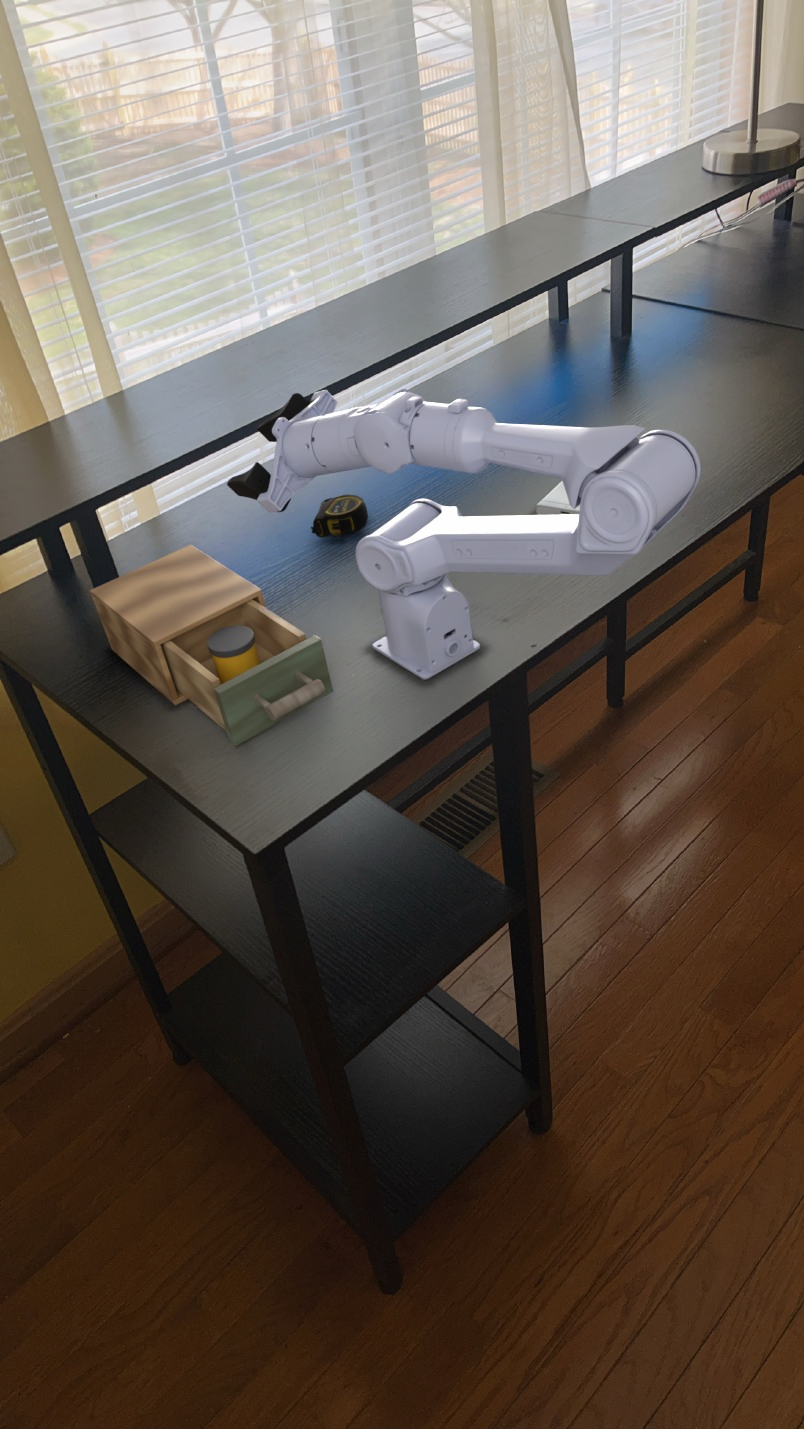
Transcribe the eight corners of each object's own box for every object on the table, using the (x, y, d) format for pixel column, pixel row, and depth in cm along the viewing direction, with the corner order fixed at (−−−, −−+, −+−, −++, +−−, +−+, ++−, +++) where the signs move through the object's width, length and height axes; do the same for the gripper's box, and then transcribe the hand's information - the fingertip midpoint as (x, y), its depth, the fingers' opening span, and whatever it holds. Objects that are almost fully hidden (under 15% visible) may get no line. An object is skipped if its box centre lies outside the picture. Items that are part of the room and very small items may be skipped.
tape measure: (326, 518, 141) (320, 493, 139) (374, 516, 139) (370, 491, 137) (314, 543, 136) (308, 517, 133) (364, 541, 134) (359, 515, 132)
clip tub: (273, 677, 109) (262, 636, 106) (234, 698, 107) (221, 657, 104) (249, 659, 112) (238, 619, 109) (211, 680, 110) (198, 639, 107)
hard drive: (578, 463, 140) (535, 503, 132) (635, 470, 136) (594, 512, 128) (579, 474, 141) (536, 515, 133) (635, 482, 137) (594, 524, 129)
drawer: (356, 707, 104) (345, 654, 100) (257, 765, 99) (241, 711, 95) (257, 638, 118) (244, 588, 114) (165, 685, 112) (147, 635, 108)
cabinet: (277, 651, 116) (261, 589, 111) (175, 705, 111) (153, 642, 106) (208, 603, 127) (190, 544, 122) (111, 650, 122) (89, 590, 117)
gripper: (336, 360, 103) (253, 384, 113) (275, 474, 99) (193, 489, 108) (378, 409, 108) (295, 428, 117) (322, 520, 103) (239, 530, 113)
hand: (249, 460), depth 113 cm, fingers open, 7 cm apart
